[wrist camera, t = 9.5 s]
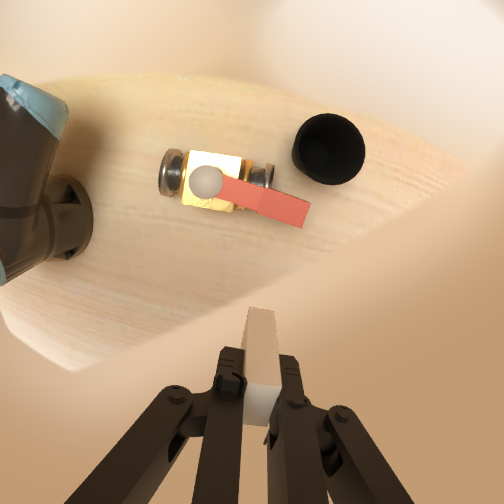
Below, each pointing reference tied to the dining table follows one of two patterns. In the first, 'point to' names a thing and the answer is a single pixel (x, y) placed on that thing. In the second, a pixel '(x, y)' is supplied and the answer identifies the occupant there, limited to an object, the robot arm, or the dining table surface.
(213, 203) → the valve body
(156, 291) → the dining table surface
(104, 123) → the dining table surface
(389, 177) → the dining table surface
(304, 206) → the lever
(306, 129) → the cup
